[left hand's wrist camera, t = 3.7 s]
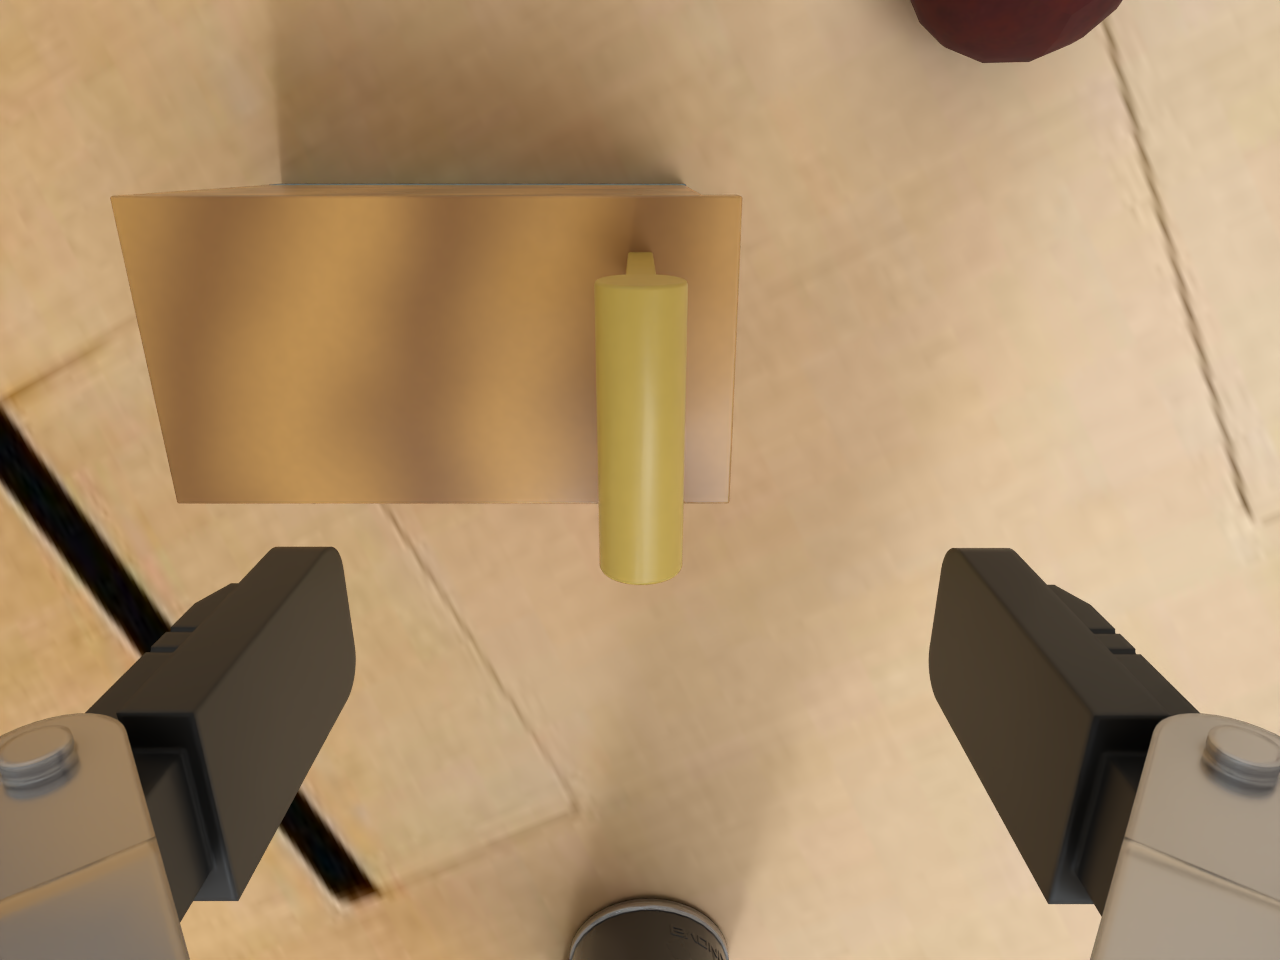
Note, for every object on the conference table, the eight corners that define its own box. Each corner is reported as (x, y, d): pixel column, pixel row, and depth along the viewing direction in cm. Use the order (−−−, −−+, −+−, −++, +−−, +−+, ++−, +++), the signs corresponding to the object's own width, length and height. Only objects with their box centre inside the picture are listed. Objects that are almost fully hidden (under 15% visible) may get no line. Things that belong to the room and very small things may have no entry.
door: (738, 194, 23) (791, 213, 15) (726, 492, 27) (765, 638, 19) (128, 194, 23) (-144, 213, 15) (191, 493, 27) (-4, 638, 19)
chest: (684, 183, 33) (704, 194, 23) (680, 402, 37) (695, 492, 27) (281, 183, 33) (128, 194, 23) (313, 402, 37) (192, 492, 27)
